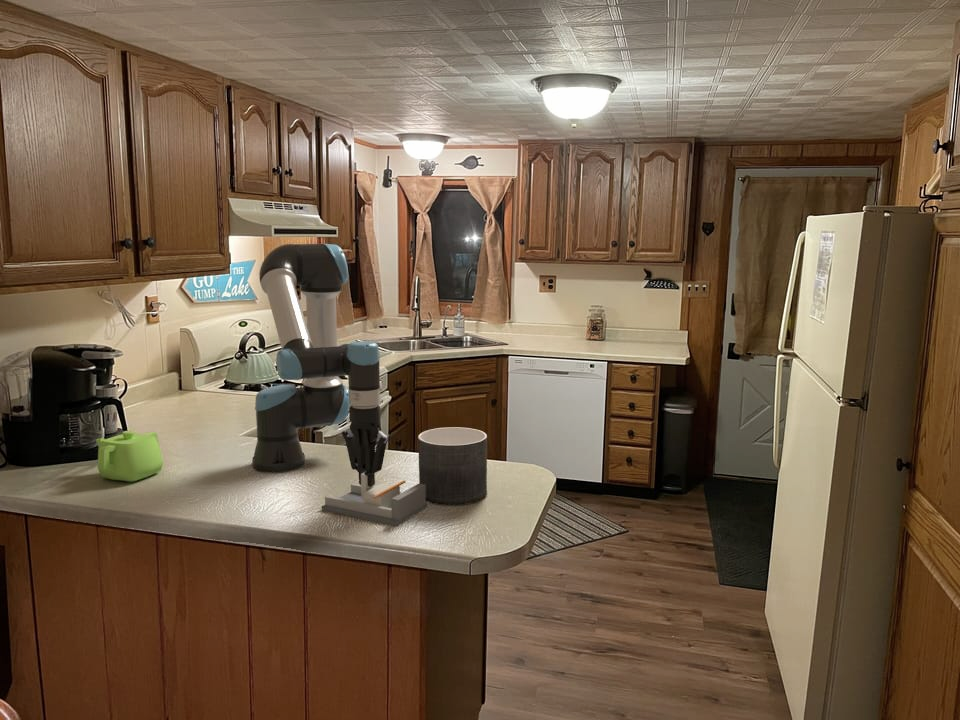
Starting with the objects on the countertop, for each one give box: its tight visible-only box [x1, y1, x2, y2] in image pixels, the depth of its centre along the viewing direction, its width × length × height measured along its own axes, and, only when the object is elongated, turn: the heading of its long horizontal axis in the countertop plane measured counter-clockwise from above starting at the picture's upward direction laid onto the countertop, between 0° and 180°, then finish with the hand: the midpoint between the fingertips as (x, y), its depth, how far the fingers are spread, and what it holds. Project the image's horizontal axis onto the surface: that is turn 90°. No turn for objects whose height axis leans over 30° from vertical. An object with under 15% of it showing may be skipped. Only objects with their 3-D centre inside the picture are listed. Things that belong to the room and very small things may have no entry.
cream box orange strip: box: [364, 480, 406, 508], centre depth 178 cm, size 6×13×5 cm, turn 153°
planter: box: [417, 426, 488, 506], centre depth 189 cm, size 18×18×16 cm
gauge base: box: [321, 483, 429, 527], centre depth 179 cm, size 22×14×6 cm, turn 63°
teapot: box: [95, 430, 164, 483], centre depth 204 cm, size 18×20×13 cm
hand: (367, 497), depth 180 cm, fingers closed
